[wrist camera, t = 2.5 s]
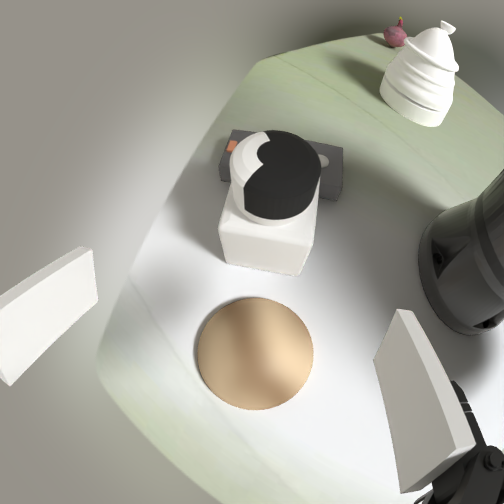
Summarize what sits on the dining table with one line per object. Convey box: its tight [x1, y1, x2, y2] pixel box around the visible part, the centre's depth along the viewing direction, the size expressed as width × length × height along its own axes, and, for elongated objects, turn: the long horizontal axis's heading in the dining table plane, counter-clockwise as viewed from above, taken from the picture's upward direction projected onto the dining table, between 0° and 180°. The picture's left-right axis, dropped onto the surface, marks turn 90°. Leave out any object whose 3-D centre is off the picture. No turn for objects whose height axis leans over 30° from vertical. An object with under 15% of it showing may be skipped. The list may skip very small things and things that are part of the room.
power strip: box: [219, 130, 343, 201], centre depth 30 cm, size 13×6×3 cm, turn 78°
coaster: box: [197, 298, 313, 410], centre depth 23 cm, size 10×10×1 cm
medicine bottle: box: [218, 130, 321, 276], centre depth 23 cm, size 7×7×12 cm
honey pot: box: [380, 21, 459, 127], centre depth 31 cm, size 13×13×18 cm
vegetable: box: [384, 17, 407, 48], centre depth 45 cm, size 6×6×10 cm
